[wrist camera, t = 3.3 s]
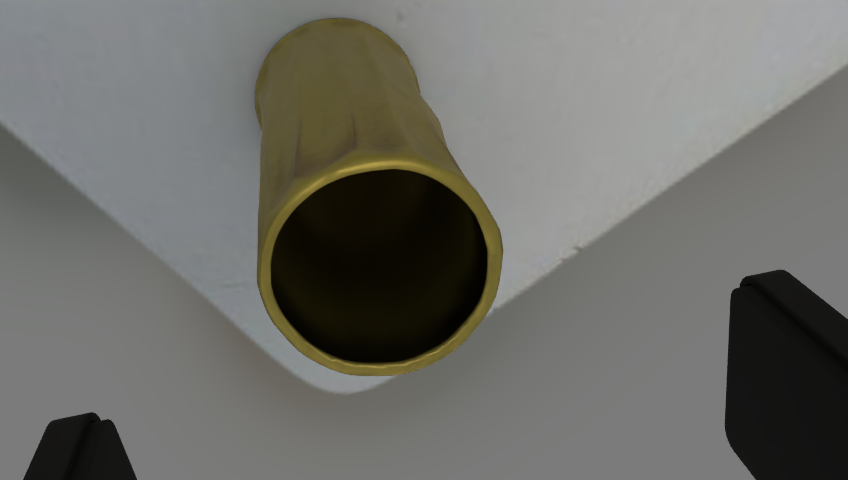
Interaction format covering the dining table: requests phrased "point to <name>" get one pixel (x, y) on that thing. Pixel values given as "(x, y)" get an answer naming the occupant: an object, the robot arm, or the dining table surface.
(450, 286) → the vase
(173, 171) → the dining table surface
